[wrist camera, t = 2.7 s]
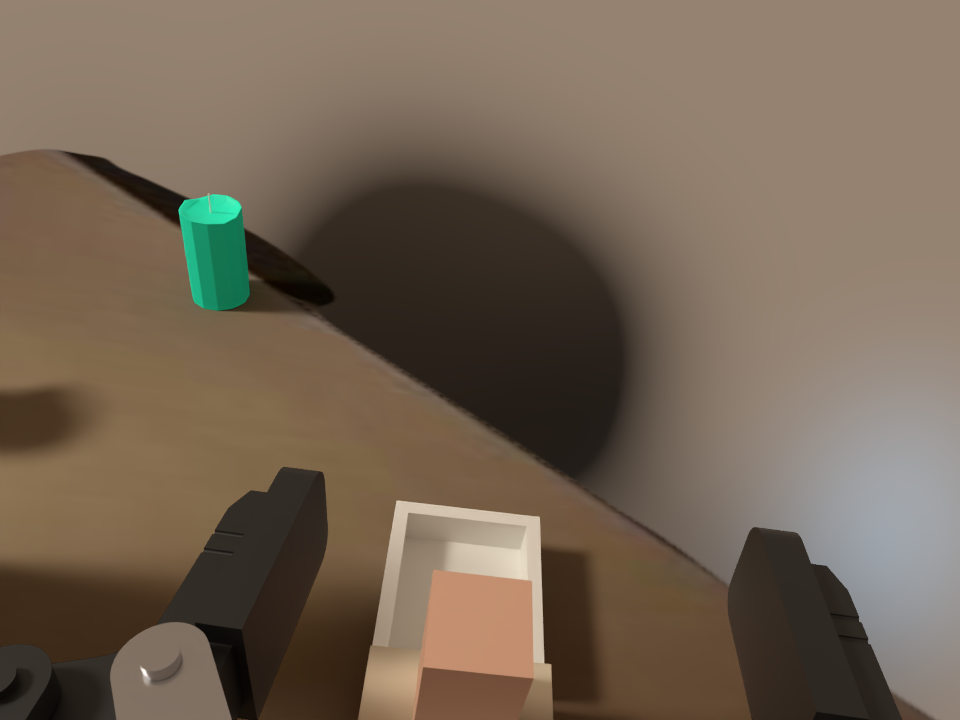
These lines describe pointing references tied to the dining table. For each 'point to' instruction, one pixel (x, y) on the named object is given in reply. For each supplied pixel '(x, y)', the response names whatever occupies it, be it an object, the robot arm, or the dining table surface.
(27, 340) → the dining table surface
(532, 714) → the cream block
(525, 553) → the tray
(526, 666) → the terracotta block
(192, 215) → the candle
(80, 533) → the dining table surface
